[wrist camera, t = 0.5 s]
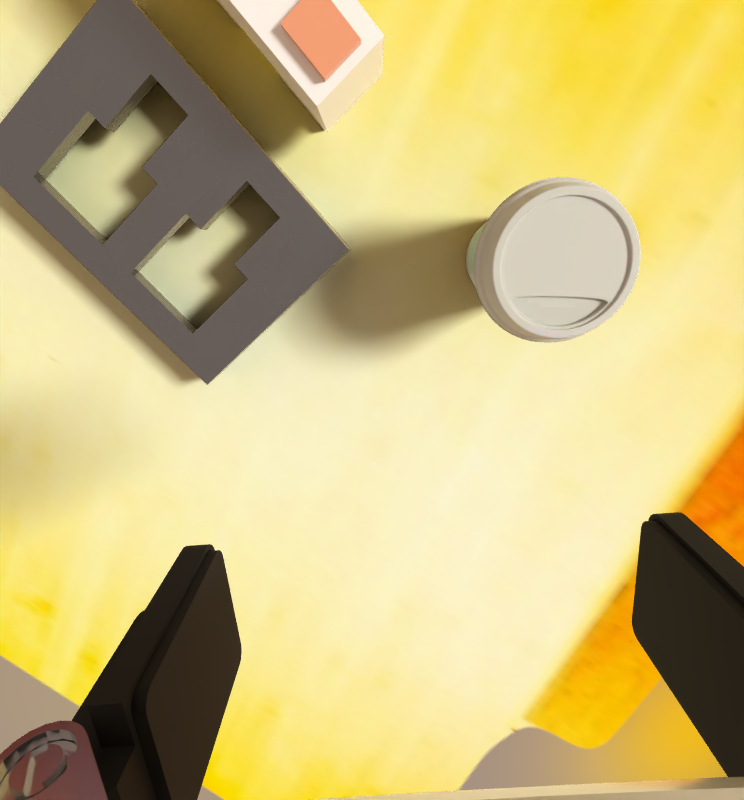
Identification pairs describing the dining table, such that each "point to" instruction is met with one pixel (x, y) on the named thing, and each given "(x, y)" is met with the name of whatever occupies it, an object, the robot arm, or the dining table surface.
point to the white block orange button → (315, 49)
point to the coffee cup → (555, 259)
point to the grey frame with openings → (162, 183)
